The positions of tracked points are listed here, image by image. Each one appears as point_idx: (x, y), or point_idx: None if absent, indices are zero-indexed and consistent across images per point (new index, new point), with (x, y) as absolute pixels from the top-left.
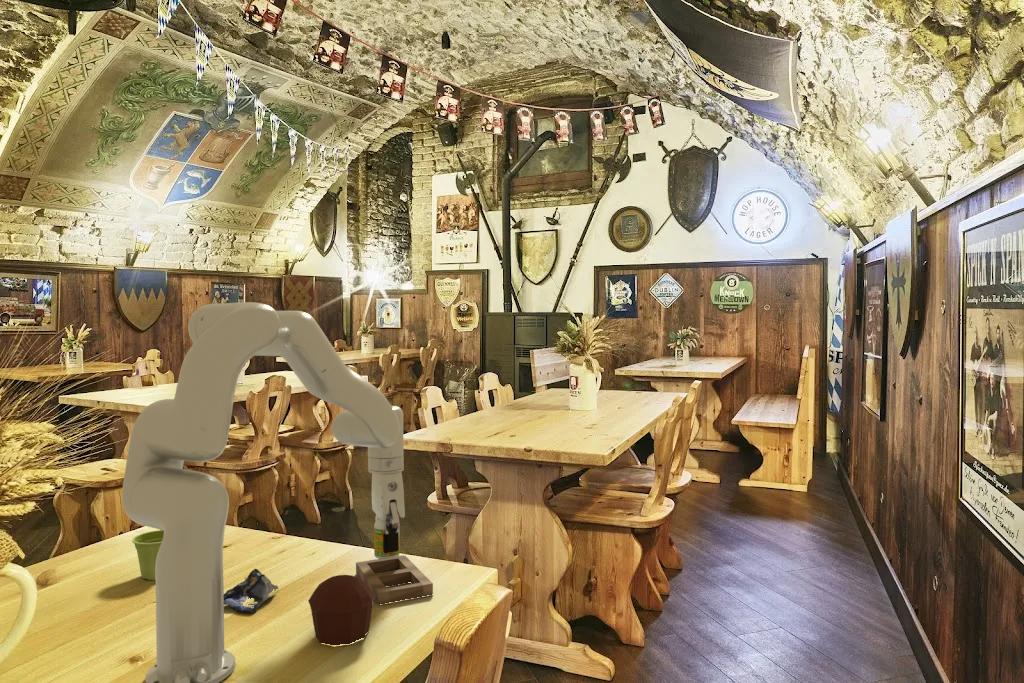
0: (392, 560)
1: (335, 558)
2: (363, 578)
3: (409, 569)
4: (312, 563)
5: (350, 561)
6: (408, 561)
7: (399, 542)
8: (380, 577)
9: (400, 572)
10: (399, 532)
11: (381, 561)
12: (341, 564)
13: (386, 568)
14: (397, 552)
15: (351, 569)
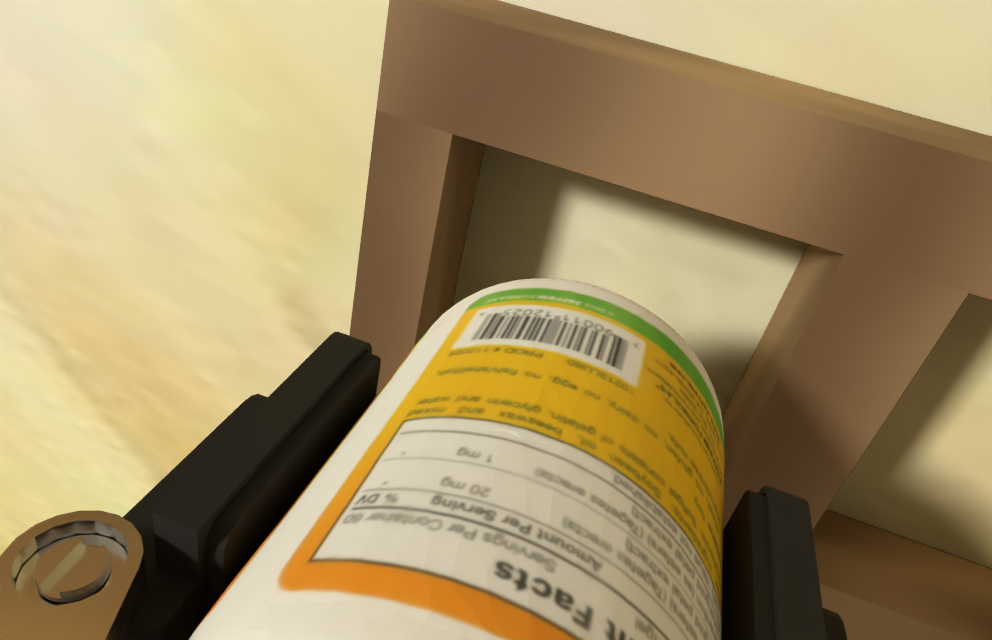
0: (447, 194)
1: (23, 324)
2: None
3: (902, 261)
4: (69, 458)
5: (114, 289)
6: (641, 99)
7: (656, 427)
8: None
9: (885, 383)
10: (622, 553)
11: (425, 306)
12: (149, 363)
13: (459, 227)
14: (713, 413)
15: (273, 375)
